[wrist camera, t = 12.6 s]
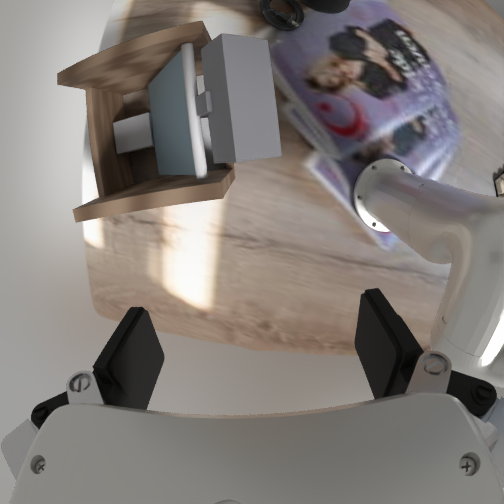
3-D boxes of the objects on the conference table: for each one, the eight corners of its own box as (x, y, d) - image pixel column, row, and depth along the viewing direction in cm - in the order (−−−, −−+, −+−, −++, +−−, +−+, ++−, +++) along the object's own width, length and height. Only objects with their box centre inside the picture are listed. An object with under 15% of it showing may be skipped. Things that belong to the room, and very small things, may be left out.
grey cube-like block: (148, 112, 32) (113, 122, 33) (152, 145, 34) (117, 154, 35) (160, 115, 37) (127, 124, 37) (163, 144, 39) (130, 152, 39)
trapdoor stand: (221, 62, 34) (202, 20, 19) (235, 177, 41) (222, 198, 26) (117, 88, 35) (57, 73, 19) (130, 193, 42) (75, 222, 27)
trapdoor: (265, 28, 19) (208, 20, 16) (283, 170, 25) (226, 181, 22) (184, 80, 34) (147, 83, 31) (195, 169, 40) (158, 177, 37)
